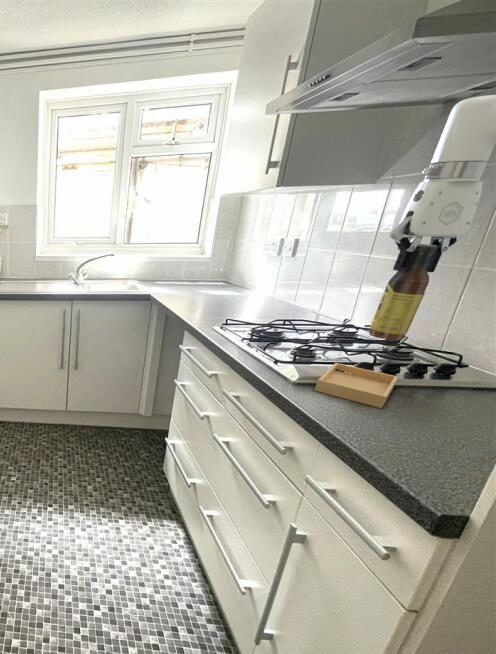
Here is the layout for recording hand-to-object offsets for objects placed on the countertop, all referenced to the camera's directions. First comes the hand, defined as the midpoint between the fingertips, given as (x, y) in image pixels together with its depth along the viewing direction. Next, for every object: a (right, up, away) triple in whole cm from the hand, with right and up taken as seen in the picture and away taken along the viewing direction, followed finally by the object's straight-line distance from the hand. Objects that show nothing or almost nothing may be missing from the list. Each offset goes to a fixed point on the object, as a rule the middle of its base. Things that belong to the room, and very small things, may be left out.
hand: (413, 270), depth 87 cm
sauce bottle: (0, -14, +6) cm, 15 cm away
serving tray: (-1, -25, +13) cm, 28 cm away
